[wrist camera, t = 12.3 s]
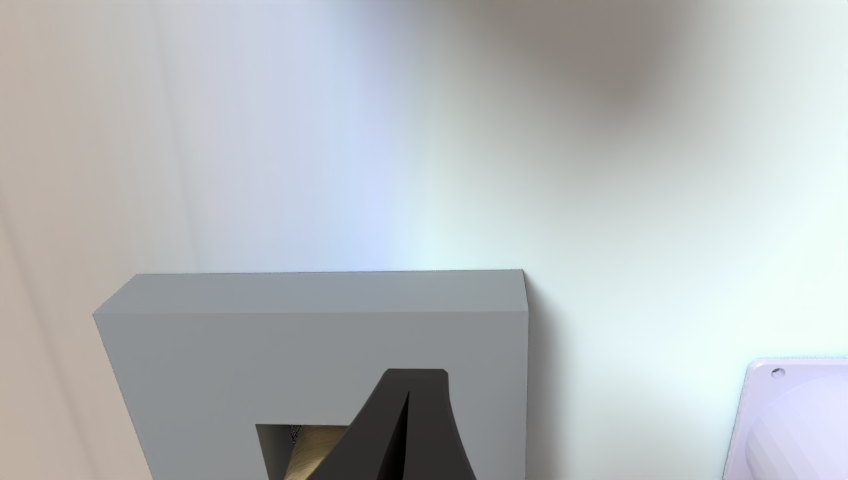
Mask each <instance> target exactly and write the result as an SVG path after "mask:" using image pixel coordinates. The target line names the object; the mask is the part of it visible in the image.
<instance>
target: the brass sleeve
mask: <svg viewBox="0 0 848 480" xmlns="http://www.w3.org/2000/svg"><path fill="white" fill-rule="evenodd" d="M348 427H349V425H301V427H300V430H299V433H298V436H297V440H296V443H295V446H294V449H293V452H292V456H291V459H290V462H289V465H288V468H287V471H286V475H285V478H284V480H305V479H306V478H307V477H308V476H309V475H310V474H311V473H312V472H313V470H314V469H315V468H316V467H317V466H318V465H319V463H320V462H321V461H322V460H323V459H324V457H325V456H326V455H327V454H328V452H329V451H330V450H331V449H332V447H333V446H334V445H335V444H336V443H337V441H338V440H339V439H340V437H341V436H342V435H343V434H344V432H345V431H346V429H347V428H348Z"/></svg>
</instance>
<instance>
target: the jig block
mask: <svg viewBox="0 0 848 480" xmlns="http://www.w3.org/2000/svg"><path fill="white" fill-rule="evenodd" d="M92 315H93V317H94V320H95V323H96V325H97V328H98V331H99V334H100V336H101V339H102V342H103V344H104V347H105V350H106V353H107V355H108V358H109V361H110V363H111V366H112V369H113V372H114V374H115V377H116V380H117V382H118V385H119V388H120V391H121V393H122V396H123V399H124V402H125V404H126V407H127V410H128V412H129V415H130V418H131V421H132V423H133V426H134V429H135V431H136V434H137V437H138V440H139V442H140V445H141V448H142V450H143V453H144V456H145V459H146V461H147V464H148V467H149V469H150V472H151V475H152V478H153V480H284V478H285V475H286V471H287V468H288V465H289V462H290V459H291V456H292V452H293V449H294V444H293V440H292V435H291V430H290V426H289V424H292V425H350V424H351V422H352V421H353V420H354V418H355V417H356V415H357V414H358V413H359V411H360V410H361V408H362V407H363V405H364V404H365V402H366V401H367V399H368V398H369V396H370V395H371V393H372V392H373V390H374V388H375V387H376V385H377V383H378V382H379V380H380V378H381V377H382V375H383V373H384V372H385V371H386V370H387V369H388V368H401V369H444V370H445V371H446V372H448V376H449V394H450V402H451V407H452V411H453V415H454V419H455V422H456V425H457V429H458V432H459V435H460V438H461V441H462V444H463V447H464V449H465V452H466V455H467V457H468V460H469V462H470V465H471V467H472V470H473V472H474V475H475V477H476V479H477V480H525V472H526V424H527V375H528V327H529V309H528V303H527V296H526V289H525V282H524V276H523V270H450V271H374V272H298V273H222V274H146V275H135V276H134V277H133V278H132V279H131V280H130V281H129V282H127V283H126V284H125V285H124V286H123V287H122V288H121V289H120V290H118V291H117V292H116V293H115V294H114V295H113V296H112V297H110V298H109V299H108V300H107V301H106V302H105V303H104V304H103V305H101V306H100V307H99V308H98V309H97V310H96V311H95V312H94V313H92Z"/></svg>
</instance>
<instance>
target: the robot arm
mask: <svg viewBox="0 0 848 480" xmlns="http://www.w3.org/2000/svg"><path fill="white" fill-rule="evenodd" d="M777 368H780V369H779V370H778V371H776V372H772V371H773V370H775V369H777ZM305 480H477V479H476V477H475V475H474V472H473V470H472V467H471V465H470V462H469V460H468V457H467V455H466V452H465V449H464V447H463V444H462V441H461V438H460V435H459V432H458V429H457V425H456V422H455V419H454V415H453V411H452V407H451V402H450V394H449V376H448V372H446V371H445V370H444V369H401V368H388V369H387V370H386V371H385V372H384V373H383V375H382V377H381V378H380V380H379V382H378V383H377V385H376V387H375V388H374V390H373V392H372V393H371V395H370V396H369V398H368V399H367V401H366V402H365V404H364V405H363V407H362V408H361V410H360V411H359V413H358V414H357V415H356V417H355V418H354V420H353V421H352V422H351V424H350V425H349V427H348V428H347V429H346V431H345V432H344V434H343V435H342V436H341V437H340V439H339V440H338V441H337V443H336V444H335V445H334V446H333V447H332V449H331V450H330V451H329V452H328V454H327V455H326V456H325V457H324V459H323V460H322V461H321V462H320V463H319V465H318V466H317V467H316V468H315V469H314V470H313V472H312V473H311V474H310V475H309V476H308V477H307V478H306V479H305ZM722 480H848V358H758V359H756V360H754V361H752V362H751V363H750V364H749V366H748V369H747V373H746V377H745V382H744V386H743V391H742V395H741V399H740V404H739V408H738V413H737V417H736V422H735V426H734V430H733V435H732V439H731V444H730V448H729V452H728V457H727V461H726V466H725V470H724V475H723V479H722Z"/></svg>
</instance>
